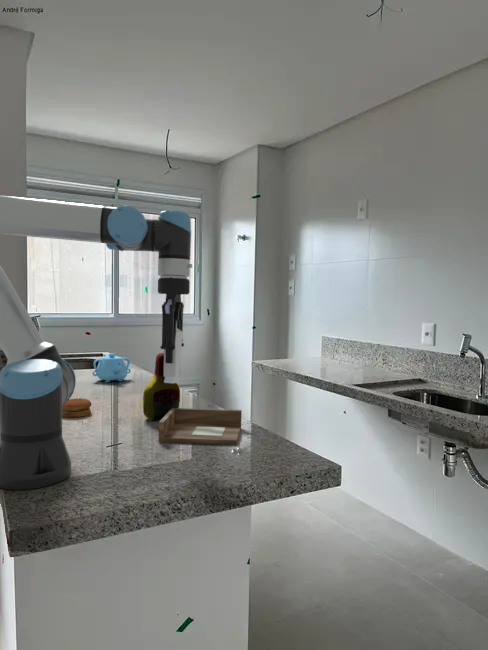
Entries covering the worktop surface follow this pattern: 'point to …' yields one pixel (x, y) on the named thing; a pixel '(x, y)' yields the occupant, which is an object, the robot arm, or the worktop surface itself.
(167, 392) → the bottle
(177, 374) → the white faceted vase
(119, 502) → the worktop surface
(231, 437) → the brown wooden flat tray
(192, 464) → the worktop surface
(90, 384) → the worktop surface
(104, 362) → the teapot
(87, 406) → the burger
